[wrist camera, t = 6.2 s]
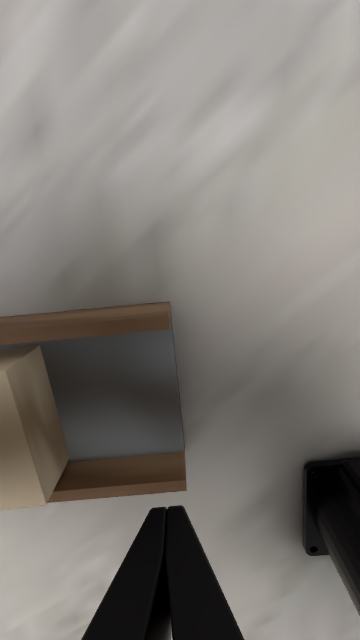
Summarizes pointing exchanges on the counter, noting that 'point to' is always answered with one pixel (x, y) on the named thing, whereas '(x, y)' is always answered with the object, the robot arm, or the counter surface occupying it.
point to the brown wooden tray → (111, 397)
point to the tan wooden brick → (28, 431)
